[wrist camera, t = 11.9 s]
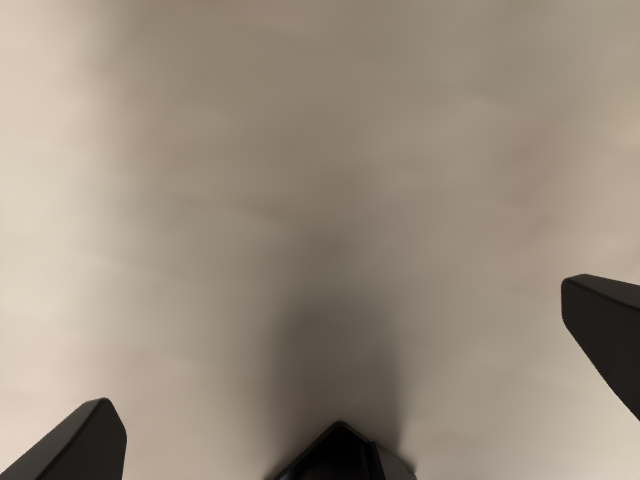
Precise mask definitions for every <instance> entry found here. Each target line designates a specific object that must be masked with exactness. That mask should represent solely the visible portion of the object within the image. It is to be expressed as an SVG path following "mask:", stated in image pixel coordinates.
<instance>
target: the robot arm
mask: <svg viewBox="0 0 640 480" xmlns="http://www.w3.org/2000/svg"><path fill="white" fill-rule="evenodd" d="M561 309H562V319H563V322H564V324H565V326H566V327H567V329H568V330H569V332H570V333H571V335H572V336H573V337H574V339H575V340H576V341H577V343H578V344H579V346H580V347H581V348H582V350H583V351H584V352H585V354H586V355H587V357H588V358H589V359H590V361H591V362H592V364H593V365H594V366H595V368H596V369H597V370H598V372H599V373H600V375H601V376H602V377H603V379H604V380H605V381H606V383H607V384H608V385H609V387H610V388H611V389H612V390H613V391H614V393H615V394H616V395H617V396H618V397H619V398H620V400H621V401H622V402H623V403H624V404H625V405H626V406H627V408H628V409H629V410H630V411H631V412H632V413H633V414H634V415H635V416H636V418H637V419H638V420H639V421H640V285H635V284H631V283H626V282H621V281H617V280H612V279H607V278H603V277H598V276H593V275H589V274H580V275H576V276H572V277H568V278H565V279H564V280H563V281H562V284H561ZM341 430H342V431H343V432H342V433H337V432H338V431H341ZM126 444H127V435H126V430H125V427H124V425H123V423H122V421H121V419H120V418H119V416H118V414H117V412H116V410H115V408H114V406H113V404H112V402H111V401H110V400H109V399H108V398H105V397H104V398H99V399H95V400H91V401H88V402H85V403H83V404H82V405H81V406H80V407H78V408H77V409H76V410H75V411H74V412H73V413H71V414H70V415H69V416H68V417H67V418H65V419H64V420H63V421H62V422H61V423H60V424H58V425H57V426H56V427H55V428H54V429H53V430H51V431H50V432H49V433H48V434H47V435H46V436H44V437H43V438H42V439H41V440H40V441H39V442H37V443H36V444H35V445H34V446H33V447H32V448H30V449H29V450H28V451H27V452H26V453H25V454H23V455H22V456H21V457H20V458H19V459H18V460H16V461H15V462H14V463H13V464H12V465H11V466H9V467H8V468H7V469H6V470H5V471H4V472H2V473H1V474H0V480H122V474H123V466H124V459H125V451H126ZM274 480H417V478H416V476H415V475H414V474H413V473H412V472H411V471H409V470H408V469H407V468H406V465H405V463H404V462H402V461H401V460H400V459H398V458H397V457H396V456H394V455H393V454H392V453H391V452H389V451H388V450H387V449H385V448H384V447H383V446H381V445H380V444H379V443H377V442H376V441H372V440H370V441H369V440H368V439H367V438H365V437H364V436H363V435H361V434H360V433H359V432H357V431H356V430H355V429H353V428H352V427H351V426H349V425H348V424H347V423H345V422H336V423H334V424H333V425H332V426H331V427H330V428H329V429H327V430H326V431H325V432H324V433H323V434H322V435H321V436H320V437H319V438H318V439H317V440H316V441H315V442H314V443H313V444H311V445H310V446H309V447H308V448H307V449H306V450H305V451H304V452H303V453H302V454H301V455H300V456H299V457H298V458H296V459H295V460H294V461H293V462H292V463H291V464H290V465H289V466H288V467H287V468H286V469H285V470H284V471H283V472H281V473H280V474H279V475H278V476H277V477H276V478H275V479H274Z"/></svg>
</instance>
